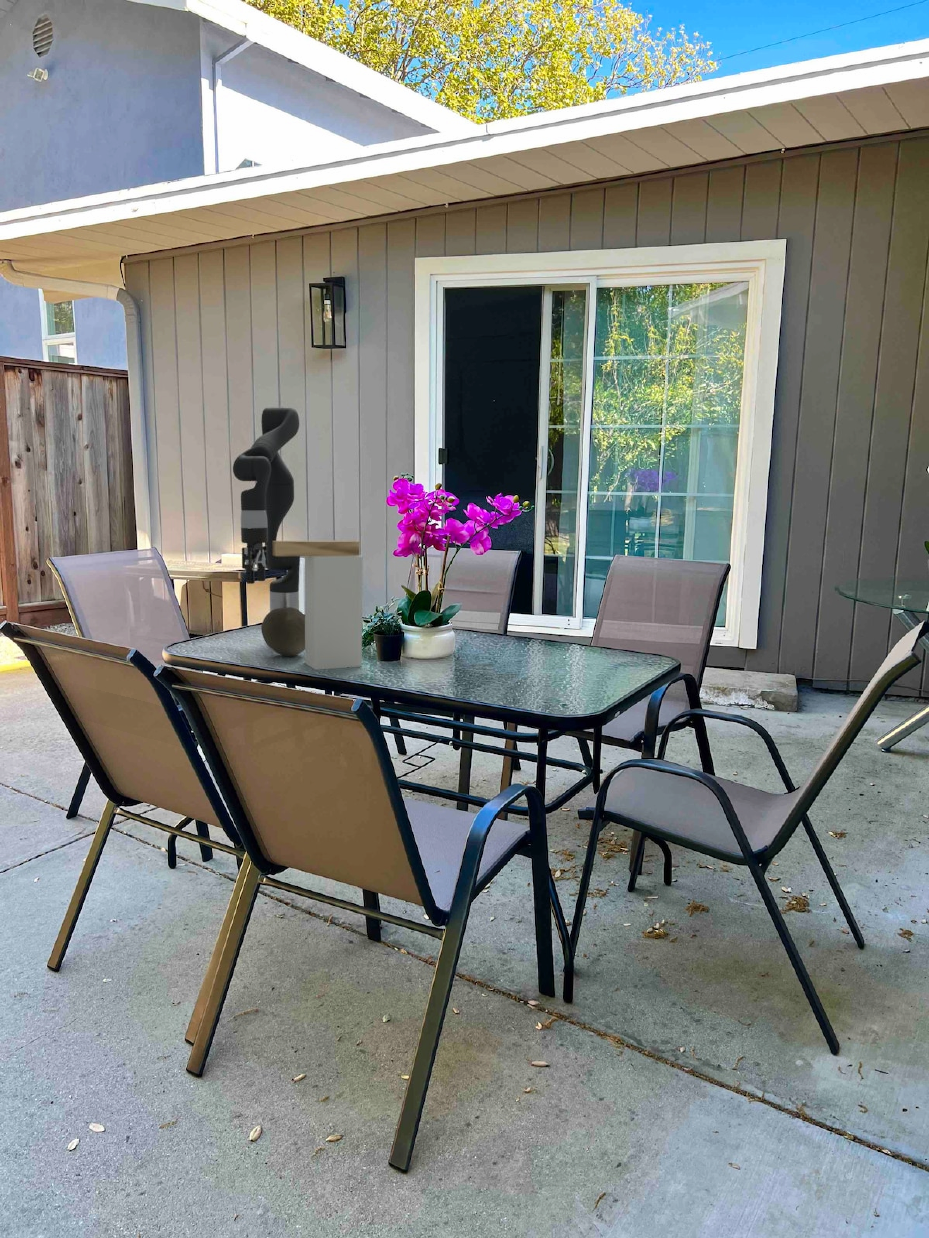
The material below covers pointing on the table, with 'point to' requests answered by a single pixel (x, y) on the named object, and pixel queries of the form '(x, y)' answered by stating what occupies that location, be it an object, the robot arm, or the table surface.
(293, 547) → the oak slat
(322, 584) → the pedestal
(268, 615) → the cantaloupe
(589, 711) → the table surface
